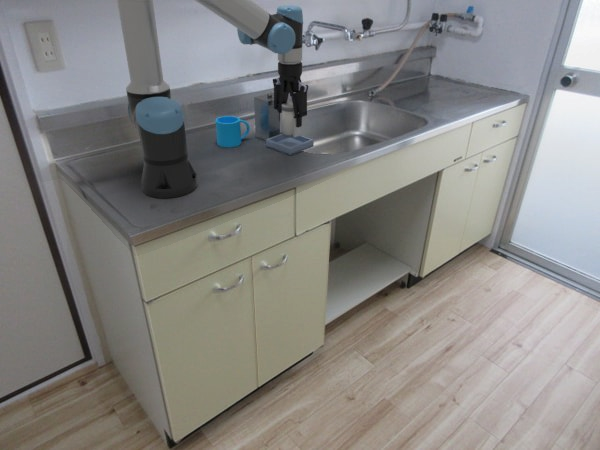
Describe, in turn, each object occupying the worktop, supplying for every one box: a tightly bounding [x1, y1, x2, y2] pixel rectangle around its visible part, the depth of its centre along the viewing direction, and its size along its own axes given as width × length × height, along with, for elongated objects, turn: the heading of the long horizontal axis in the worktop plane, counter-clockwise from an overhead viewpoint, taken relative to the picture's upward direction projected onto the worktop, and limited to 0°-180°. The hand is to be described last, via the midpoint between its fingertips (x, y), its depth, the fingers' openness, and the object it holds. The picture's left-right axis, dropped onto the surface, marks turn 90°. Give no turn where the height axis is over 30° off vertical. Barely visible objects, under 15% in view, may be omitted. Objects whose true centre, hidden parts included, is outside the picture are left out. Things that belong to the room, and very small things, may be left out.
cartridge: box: [282, 102, 295, 137], centre depth 150 cm, size 5×5×10 cm
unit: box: [253, 92, 282, 141], centre depth 159 cm, size 8×7×15 cm
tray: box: [265, 134, 315, 156], centre depth 154 cm, size 11×11×2 cm
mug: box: [215, 115, 251, 148], centre depth 156 cm, size 12×8×8 cm
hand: (290, 133), depth 153 cm, fingers closed on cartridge, 5 cm apart
